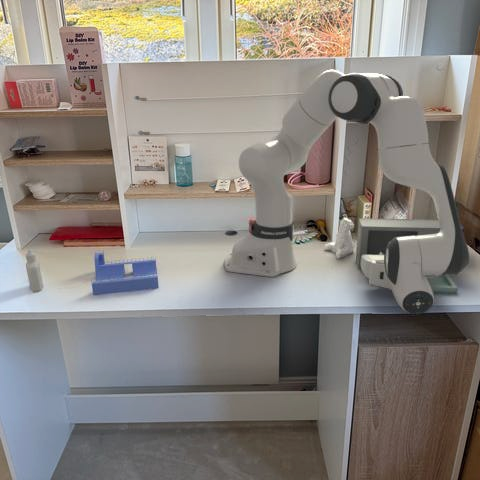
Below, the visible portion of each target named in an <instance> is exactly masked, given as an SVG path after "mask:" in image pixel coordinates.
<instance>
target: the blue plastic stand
mask: <svg viewBox="0 0 480 480" xmlns="http://www.w3.org/2000/svg"><path fill="white" fill-rule="evenodd" d="M93 260H94V267H95V268H94V269H95V281H93V279H91V280H90V282H91V288H92V295H93V296H99V295H109V294H119V293H126V292H127V293H128V292H137V291H145V290H154V289H159V288H160V287H159V278H158V269H157V260H156V256H155V257H153V256H151V257H147V259H143V258H141V257H140V258H137V259H136V260H133V258H131V259H130V261H129V259H126V261H125V259H122V260H115V261H114V262H113V260H110V261H105V252H104V250H101V251H100V250H97V252H94V259H93ZM130 264H131V266H132V277H126V270H125V265H130Z"/></svg>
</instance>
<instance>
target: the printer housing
mask: <svg viewBox="0 0 480 480" xmlns="http://www.w3.org/2000/svg"><path fill="white" fill-rule="evenodd" d="M357 227H358V229H357V238H356V239H357V240H356V241H357V242H356V252H355V263H356V265H357V269H358V270H360V271H362V269H361V256H362V255H379V252H385V249H386V247H387V245H388V244H389V242H390V241H391V240H392V239H393V238H395V237H403V236H413V235H415V236H417V235H428V234H437V233H439V232H440V230H441V228H440V224H439V220H438V219H408V218H407V219H405V218H371V217H370V218H368V217H367V218H366V217H362V218H361V217H359V218H358V225H357Z"/></svg>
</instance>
